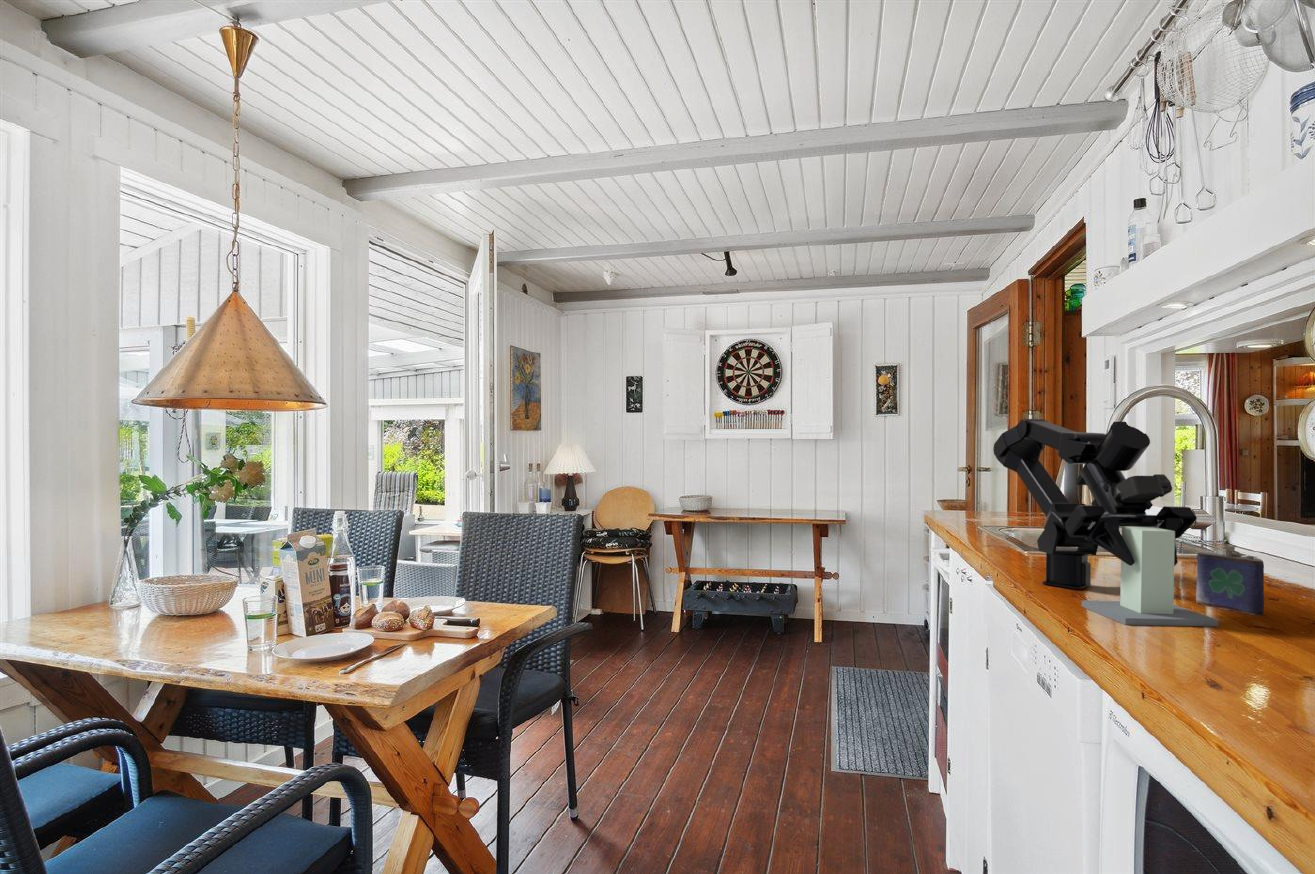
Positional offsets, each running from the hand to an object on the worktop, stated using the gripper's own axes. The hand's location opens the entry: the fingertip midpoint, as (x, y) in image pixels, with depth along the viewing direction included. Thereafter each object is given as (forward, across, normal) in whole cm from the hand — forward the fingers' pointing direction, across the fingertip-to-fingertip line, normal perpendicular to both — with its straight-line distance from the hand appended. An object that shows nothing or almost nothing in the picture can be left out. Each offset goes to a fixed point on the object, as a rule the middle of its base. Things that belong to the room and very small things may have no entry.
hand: (1153, 564), depth 109 cm
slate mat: (+5, 0, +7) cm, 9 cm away
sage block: (+4, 0, +6) cm, 8 cm away
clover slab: (+1, +18, +11) cm, 21 cm away
